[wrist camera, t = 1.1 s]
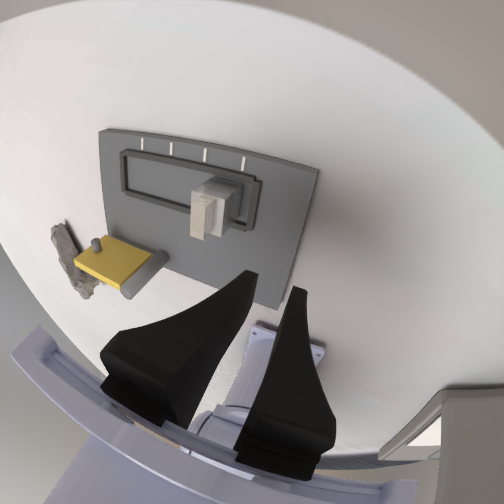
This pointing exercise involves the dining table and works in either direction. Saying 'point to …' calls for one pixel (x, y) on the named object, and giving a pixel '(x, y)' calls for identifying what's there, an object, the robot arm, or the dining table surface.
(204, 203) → the fader knob
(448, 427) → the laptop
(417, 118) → the dining table surface
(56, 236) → the stone
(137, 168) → the console
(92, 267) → the door
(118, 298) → the dining table surface
